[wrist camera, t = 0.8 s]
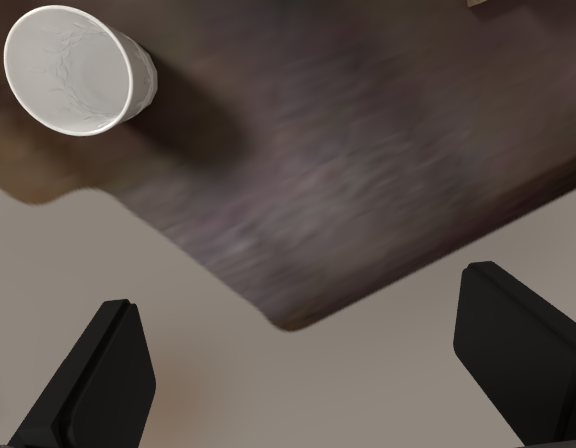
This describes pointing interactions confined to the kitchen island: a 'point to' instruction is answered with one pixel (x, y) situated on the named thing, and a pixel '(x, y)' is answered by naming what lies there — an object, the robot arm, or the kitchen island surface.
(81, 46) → the white cup
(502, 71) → the kitchen island surface
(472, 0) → the door and jamb
